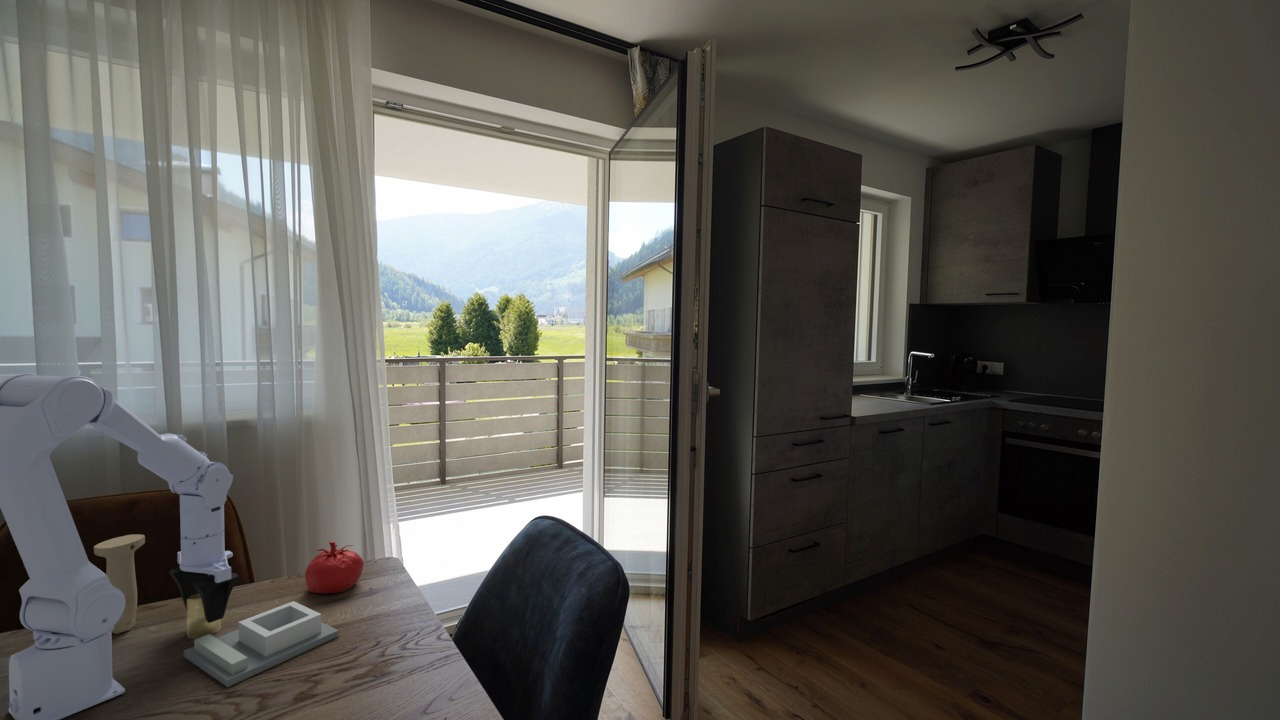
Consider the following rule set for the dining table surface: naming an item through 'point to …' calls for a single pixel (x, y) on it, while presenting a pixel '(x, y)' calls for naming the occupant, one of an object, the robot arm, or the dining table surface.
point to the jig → (260, 643)
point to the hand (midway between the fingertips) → (204, 613)
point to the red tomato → (333, 570)
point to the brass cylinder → (199, 619)
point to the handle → (122, 573)
